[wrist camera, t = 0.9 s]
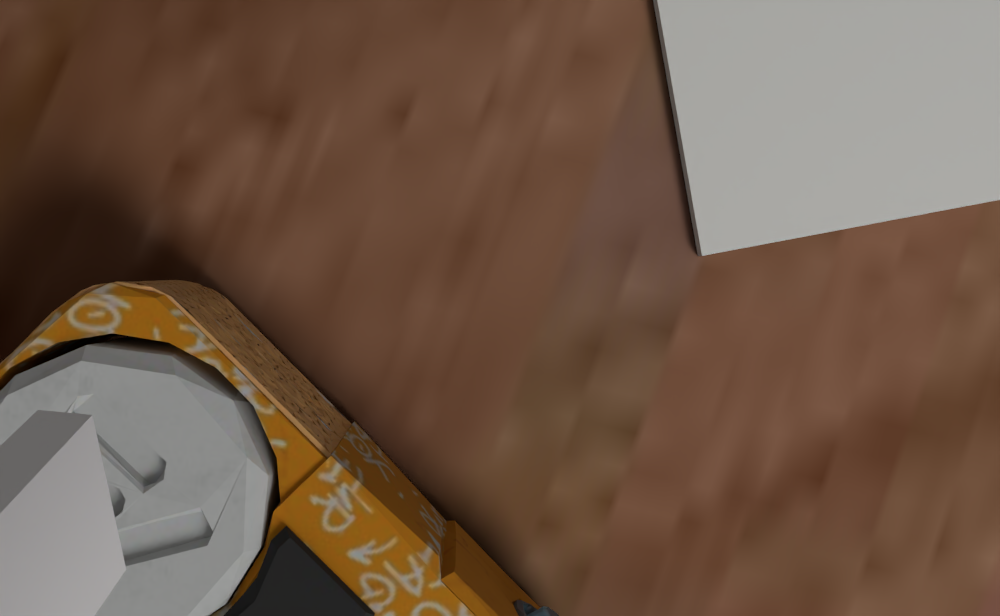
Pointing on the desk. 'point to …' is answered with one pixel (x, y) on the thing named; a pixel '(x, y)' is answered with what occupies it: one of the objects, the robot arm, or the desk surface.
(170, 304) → the device
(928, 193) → the mat
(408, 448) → the desk surface
